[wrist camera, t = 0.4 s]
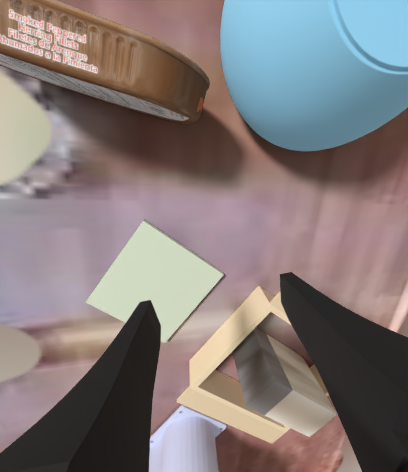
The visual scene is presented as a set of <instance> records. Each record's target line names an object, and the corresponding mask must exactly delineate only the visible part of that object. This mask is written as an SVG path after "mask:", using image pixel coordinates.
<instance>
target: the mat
mask: <svg viewBox="0 0 408 472" xmlns="http://www.w3.org/2000/svg"><path fill="white" fill-rule="evenodd" d="M223 275H224V274H223V272H222V271H220V270H219V269H217V268H216V267H214V266H213V265H211V264H210V263H208V262H207V261H205V260H204V259H202V258H201V257H199V256H198V255H196V254H195V253H193V252H192V251H190V250H189V249H187V248H186V247H185V246H183V245H182V244H180V243H179V242H177V241H176V240H174V239H173V238H171V237H170V236H168V235H167V234H165V233H164V232H162V231H161V230H159V229H158V228H156V227H155V226H153V225H152V224H150V223H149V222H147V221H146V220H143V222H142V223H141V225H140V226H139V227H138V229H137V230H136V232H135V233H134V234H133V236H132V237H131V239H130V240H129V241H128V243H127V244H126V246H125V247H124V249H123V250H122V251H121V253H120V254H119V256H118V257H117V258H116V260H115V261H114V263H113V264H112V266H111V267H110V268H109V270H108V271H107V273H106V274H105V275H104V277H103V278H102V280H101V281H100V283H99V284H98V285H97V287H96V288H95V290H94V291H93V292H92V294H91V295H90V297H89V298H88V299H87V301H86V303H88V304H90V305H92V306H94V307H96V308H98V309H100V310H102V311H103V312H105V313H107V314H109V315H111V316H113V317H115V318H117V319H119V320H121V321H123V322H125V323H126V322H127V320H128V319H129V317H130V316H131V314H132V313H133V311H134V310H135V308H136V307H137V305H138V304H139V303H140V302H142V301H147V300H151V302H152V304H153V307H154V309H155V312H156V314H157V317H158V319H159V322H160V324H161V341H162V342H164V343H165V342H166V341H167V340H168V339H169V338H170V337H171V335H172V334H173V333H174V332H175V331H176V330H177V328H178V327H179V326H180V325H181V324H182V323H183V322H184V320H185V319H186V318H187V317H188V316H189V315H190V313H191V312H192V311H193V310H194V309H195V308H196V306H197V305H198V304H199V303H200V302H201V301H202V299H203V298H204V297H205V296H206V295H207V294H208V293H209V291H210V290H211V289H212V288H213V287H214V286H215V284H216V283H217V282H218V281H219V280H220V279H221V277H222V276H223Z"/></svg>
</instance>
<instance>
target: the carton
mask: <svg viewBox="0 0 408 472" xmlns="http://www.w3.org/2000/svg"><path fill="white" fill-rule="evenodd" d="M270 312H272V313H274V314H275V315H277V316H278V317H280V318H281V319H283V320H284V321H286V322H287V323H289V324H290V325H291V323H290V321H289V320H288V317H287V315H286V313H285V311H284V308H283V306H282V304H281V291H280V292H279V293H278V294H277V295H276V296H274V295H272V294H271V293H269V292H268V291H266V290H265V289H263V288H262V287H261V286H258V287H257V288H256V289H255V290H254V291H253V292H252V293H251V294H250V296H249V297H248V298H247V299H246V300H245V301H244V302H243V303H242V304H241V305H240V306H239V307H238V309H237V310H236V311H235V312H234V313H233V314H232V315H231V316H230V317H229V318H228V319H227V321H226V322H225V323H224V324H223V325H222V326H221V327H220V328H219V329H218V330H217V331H216V332H215V334H214V335H213V336H212V337H211V338H210V339H209V340H208V341H207V342H206V343H205V344H204V346H203V347H202V348H201V349H200V350H199V351H198V352H197V353H196V354H195V355H194V356H193V357H192V359H191V360H190V361H189V363H190V386H189V387H188V388H187V389H186V390H185V391H184V393H183V394H182V395H181V396H180V397H179V398H178V399H177V402H178V403H180V404H182V405H185V406H187V407H189V408H191V409H194V410H196V411H198V412H201V413H203V414H205V415H208V416H210V417H212V418H214V419H217V420H219V421H221V422H224V423H226V424H228V425H230V426H233V427H235V428H237V429H240V430H242V431H244V432H246V433H249V434H251V435H253V436H256V437H258V438H260V439H263V440H265V441H267V442H269V443H273V442H275V441H276V440H277V439H278V438H279V437H280V436H282V435H283V434H284V433H285V432H286V431H288V430H289V429H290V427H287V426H285V425H283V424H281V423H279V422H277V421H275V420H273V419H271V418H269V417H267V416H264V415H262V414H260V413H258V412H256V411H254V410H252V409H250V408H248V407H246V403H245V399H244V395H243V391H242V388H241V384H240V382H239V381H237V380H235V379H233V378H231V377H229V376H227V375H225V374H223V373H221V372H219V371H217V370H215V369H216V368H217V367H218V366H219V365H220V363H221V362H222V361H223V360H224V359H225V358H226V357H227V356H228V355H229V354H230V353H231V352H232V351H233V350H234V349H235V348H236V347H237V346H238V345H239V344H240V343H241V342H242V341H243V340H244V339H245V338H246V337H247V336H248V335H249V334H250V333H251V332H252V330H253V329H254V328H255V327H256V326H257V325H258V324H259V323H260V322H261V321H262V320H263V319H264V318H265V317H266V316H267V315H268V314H269V313H270ZM309 369H310V370H311V372H312V374H313V375H314V377H315V378H316V380H317V382H318V383H319V385H320V387H321V388H322V390H323V392H324V393H325V395H326V396H327V397H328V396H329V394H328V391H327V389H326V387H325V385H324V383H323V381H322V379H321V377H320V374H319V372H318V370H317V368H316V366H315V364H313V365H312V366H311V367H310V368H309Z"/></svg>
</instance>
